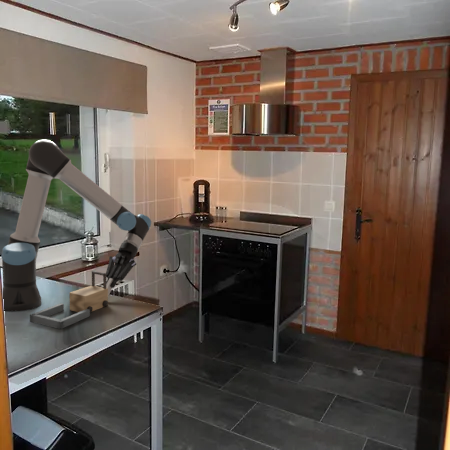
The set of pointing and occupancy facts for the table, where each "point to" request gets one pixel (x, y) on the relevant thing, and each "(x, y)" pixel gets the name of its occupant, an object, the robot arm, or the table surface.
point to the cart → (90, 296)
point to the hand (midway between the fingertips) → (105, 293)
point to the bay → (43, 319)
